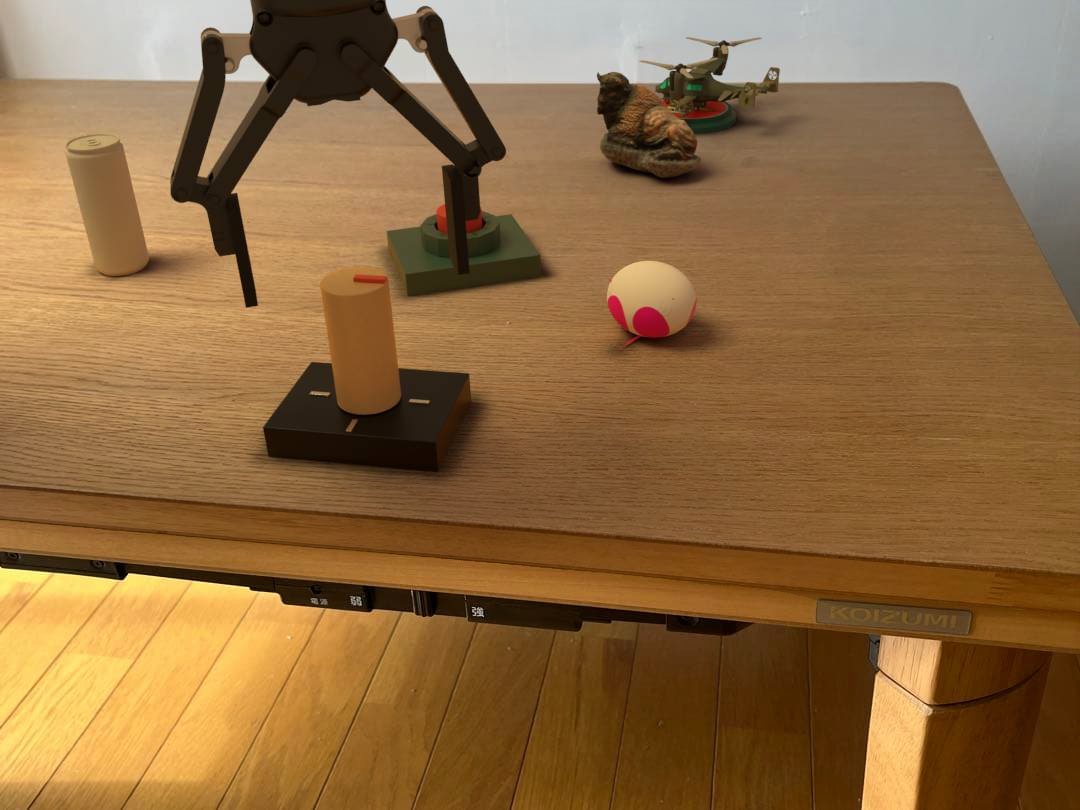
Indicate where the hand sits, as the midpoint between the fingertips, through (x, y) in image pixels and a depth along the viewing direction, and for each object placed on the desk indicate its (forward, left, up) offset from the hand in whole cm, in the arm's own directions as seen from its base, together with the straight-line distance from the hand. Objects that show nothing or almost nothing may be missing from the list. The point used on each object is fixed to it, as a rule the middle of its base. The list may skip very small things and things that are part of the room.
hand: (357, 282), depth 72 cm
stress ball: (+23, +7, -12) cm, 27 cm away
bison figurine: (+36, +42, -12) cm, 56 cm away
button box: (+12, +25, -11) cm, 30 cm away
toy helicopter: (+49, +56, -12) cm, 75 cm away
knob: (0, 0, -9) cm, 9 cm away
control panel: (0, 0, -11) cm, 11 cm away
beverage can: (-18, +35, -12) cm, 41 cm away
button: (+12, +25, -8) cm, 29 cm away
